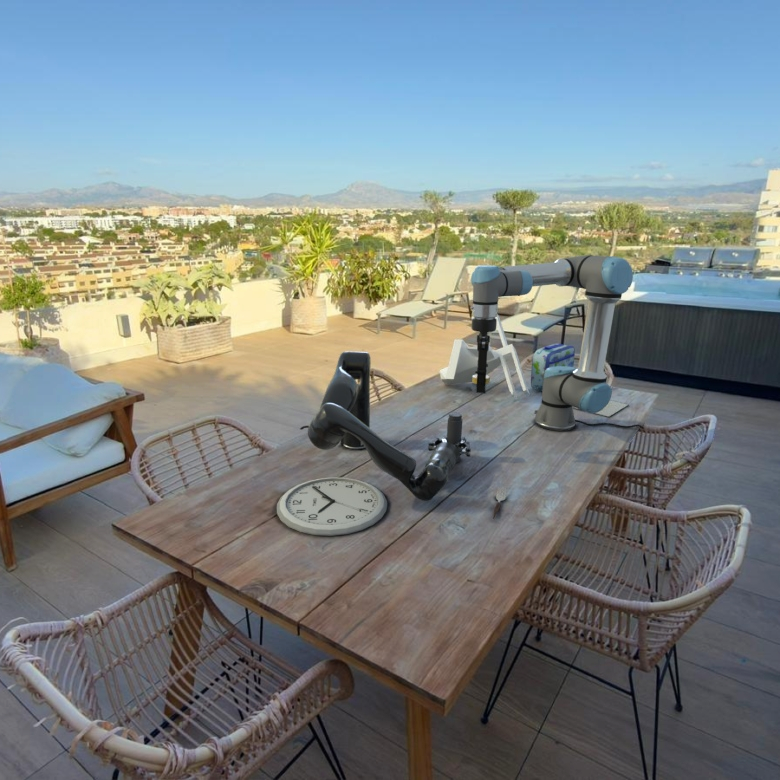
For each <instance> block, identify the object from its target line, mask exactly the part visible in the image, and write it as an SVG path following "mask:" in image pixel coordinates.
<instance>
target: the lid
mask: <svg viewBox="0 0 780 780" xmlns="http://www.w3.org/2000/svg"><path fill="white" fill-rule="evenodd" d="M490 378H491V377H490V376H489V374H487V375H486V385H489V384H490V380H491V379H490ZM471 383H473V384H474V385H476V384H477V374H476V375H473V378H472V382H471Z"/></svg>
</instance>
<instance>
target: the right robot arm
mask: <svg viewBox="0 0 780 780" xmlns="http://www.w3.org/2000/svg"><path fill="white" fill-rule="evenodd" d="M633 273H634V271H633V268H632V265H630V263H629V261H627V260H626V259H625V258H623V257H617V256H614V255H612V256H608V255H593V254H586V255H585V254H584V255H578V256H571V257H565V258H558V259H556V260H555V261H554V262H553V261H552V262H542V263H541V262H540V263H531V264H520V265H507V266H498V265H487V264H485V265H483V264H482V265H477V266H476V267H474V270H473V271H472V273H471V275H470V276H471V277H470V282H471V285H472V305H471V306H470V310H472V312H471V316H472V318H471V330H472V331H474V332H478V334H477V335H476V343H477V344H476V346H477V350H478V361H477V362H478V364H477V365H478V367H477V371H475V373H477V384H475V385H476V387H475V388H476V389H475V390H476V391H475V392H476V394H486V386H487V384H486V372H487V370H486V367H488V364H487V351H488V350H489V345H490V342H491V336H490V335H488V333H492V332H495V331H496V330H497V325H496V324H497V319H496V318H495V317H497V314H498V308H499V298H502V297H521V296H525V295H528V294H529V293H530V292H531V291H532V290H533V289H532V288H533V287H541V286H542V287H543V286H550V285H556V286H557V287H571V288H572V287H573V288H578V289H583V290H585V292H584V296H585V298H586V299H587V301H588V303H587V310H586V316H585V321H584V329H583V334H582V341H581V345H580V346H581V348H580V354H579V360H578V365H577V367H574V366H573V367H567V366H555V367H549V368H547V369H546V370H545V375H544V378H543V390H541V391H542V392H541V402H540V405H539V407H538V409H535V410H534V415H535V416H534V424H535V425H536V426H537V427H539V428H542V429H544V430H549V431H556V432H567V431H572V430H574V429H575V428H576V423H578V424H582V425H585V426H592V427H594V426H595V427H596V426H603V425H604V426H613V427H618V428H622V429H623V428H624V429H631V428H635V427H638V428H640V429H641V430H642V429H643V430H645V427H644V426H642V425H641V424H633V425H622V424H616V423H612V422H596V423H588V422H585V421H583V420H578V419H576V418H575V417H576V416H575V413H574V407H576V408H578V409H577V410H580V411H581V412H586V413H589V414H596V413H597V412H599V411H601V410H602V409H603V408H604V407H606V405H607V404H608V403H609V401H611V399H612V394H613V391H612V388H611V386H610V385H609V383H607V380H608V375H607V374H606V373H605V365H606V359H607V353H608V347H609V343H610V336H611V330H612V325H613V319H614V313H615V309H616V308H615V307H616V304H617V303H618V302H619V301H620V300H621V299H622V295H623V294H626V293H627V292H628V291H629V288H630V287H631V286H632V283H633V280H634V279H633V277H634V274H633ZM576 408H575V409H576Z"/></svg>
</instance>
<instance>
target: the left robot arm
mask: <svg viewBox="0 0 780 780" xmlns="http://www.w3.org/2000/svg"><path fill="white" fill-rule="evenodd" d="M371 367H372V359H371V355H370V353H369V352H367V351H351V350H349V351H348V350H347V351H343V352H341V353H340V354H339V356H338V359H337V362H336V366H335V369H334V373H333V374H332V377H331V379H330V381H329V383H328V385H327V387H326V389H325V391H324V395H323V398H322V400H321V403H320V406H319V407H320V408H319V410H318V411H317V413H316V414H315V415H314V417H313V418H312V419H311V422H309V425H303V426H301V427H299V430H304V429H307V435H308V439H309V441H310V443H311V444H312V445H313V446H314V447H315V448H317V449H319V450H323V451H328V450H332V449H334V448H336V447H337V446H338V445H339V444H340V446H341V447H344V448H346V449H349V450H355V451H356V450H363V449H365V450H366V451H367V453H368V456H369V457H370V459H371V461H372V462H373V464H374V465H375V466H376V467H377V468H379V469H380V470H381V471H383V472H384V473H386V474H388V475H389V476H392V477H393V478H395V479H396V480H398V481H399V482H400V483H401V484H402V485H403V486H404V487H405V488H406V489H407V490H408V491H409V492H410V493H411V494H412V495H413V496H414V497H415V498H416V499H417V500H419V501H423V502H429V501H432V500H433V499H434V498H435V497H436V496H437V495H438V493H439V492H440V491H441V490H442V489H443V488H444V487H445V486H446V485H447V483H448V481H449V478H450V473H451V471H452V470H453V469H454V466H455V465H456V464H457V463H456V461H457V460H458V457H459V456H460V457H461V456H462V455H465V456H466V457H467V458H469V457H471V450H472V449H471V448H472V447H471V442H469V441H467V438H466V437H465V436H461V441H460V442H458V441H457V442H456V443H453V444H452V443H449V442H447V434H446V435H443V437H441V438H440V437H435V438H434V439H432V440H430V441H429V442H428V445H427V447H428V448H427V451H429V452H431V451H432V452H431V454H430V457H429V459H428V461H427V462H426V464H425V466H424V468H423V469H422V470H421V472H420V473H419V474H418V475H417V476H415V474H414V473H415V470H416V467H417V461H416V459H415V458H413V457H412V456H410V455H409V454H407V453H405V452H404V451H402V450H400V449H399V448H397V447H395V446H393V445H392V444H391V443H389V442H388V441H386V440H385V439H383V438H382V437H381V436H380V435H378V433H376V432H375V431H374V430H372V428H370V426H371V425H370V423H371V422H370V419H371V418H370V417H371V412H370V411H371V407H370V406H371V405H370V403H371V395H370V394H371V369H372V368H371ZM356 380H360V381H359V382H357V381H356Z"/></svg>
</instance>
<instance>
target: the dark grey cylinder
mask: <svg viewBox="0 0 780 780" xmlns="http://www.w3.org/2000/svg"><path fill="white" fill-rule="evenodd" d="M446 430H447V431H446V435H447V442H449V443H452V444H453V443H456V442H457V441H458V442H460V441H461V439H462V437H463V436H462V434H463V415H462V413H460V412H455V411H454V412H452V411H451V412H449V414H448V418H447V427H446ZM459 462H461V456H459V457H458V460H457V461H456V463H455V464H457V463H459Z"/></svg>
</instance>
